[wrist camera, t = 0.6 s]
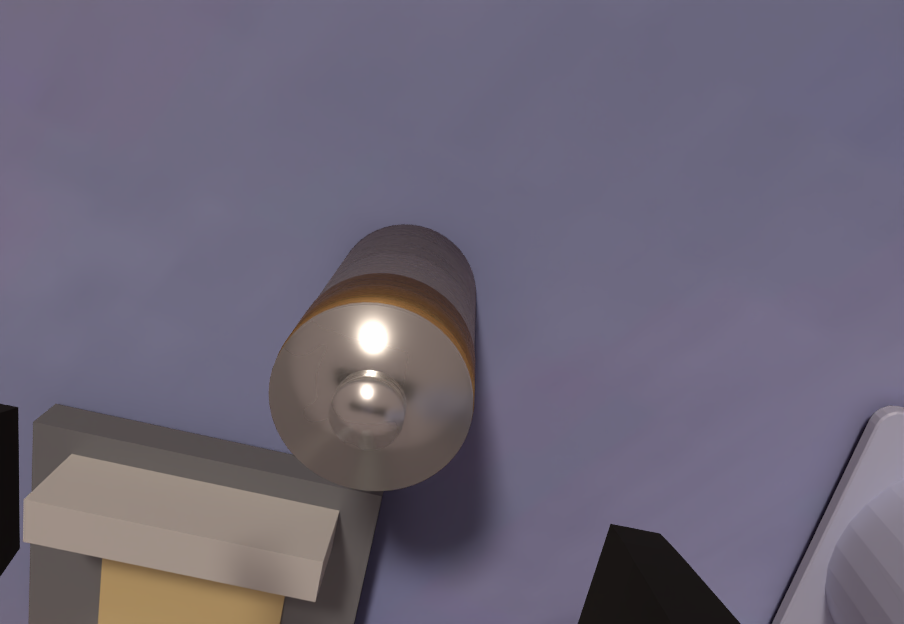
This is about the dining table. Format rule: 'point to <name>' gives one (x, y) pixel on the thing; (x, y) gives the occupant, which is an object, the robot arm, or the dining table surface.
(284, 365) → the cell
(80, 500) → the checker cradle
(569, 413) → the dining table surface
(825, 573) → the robot arm
